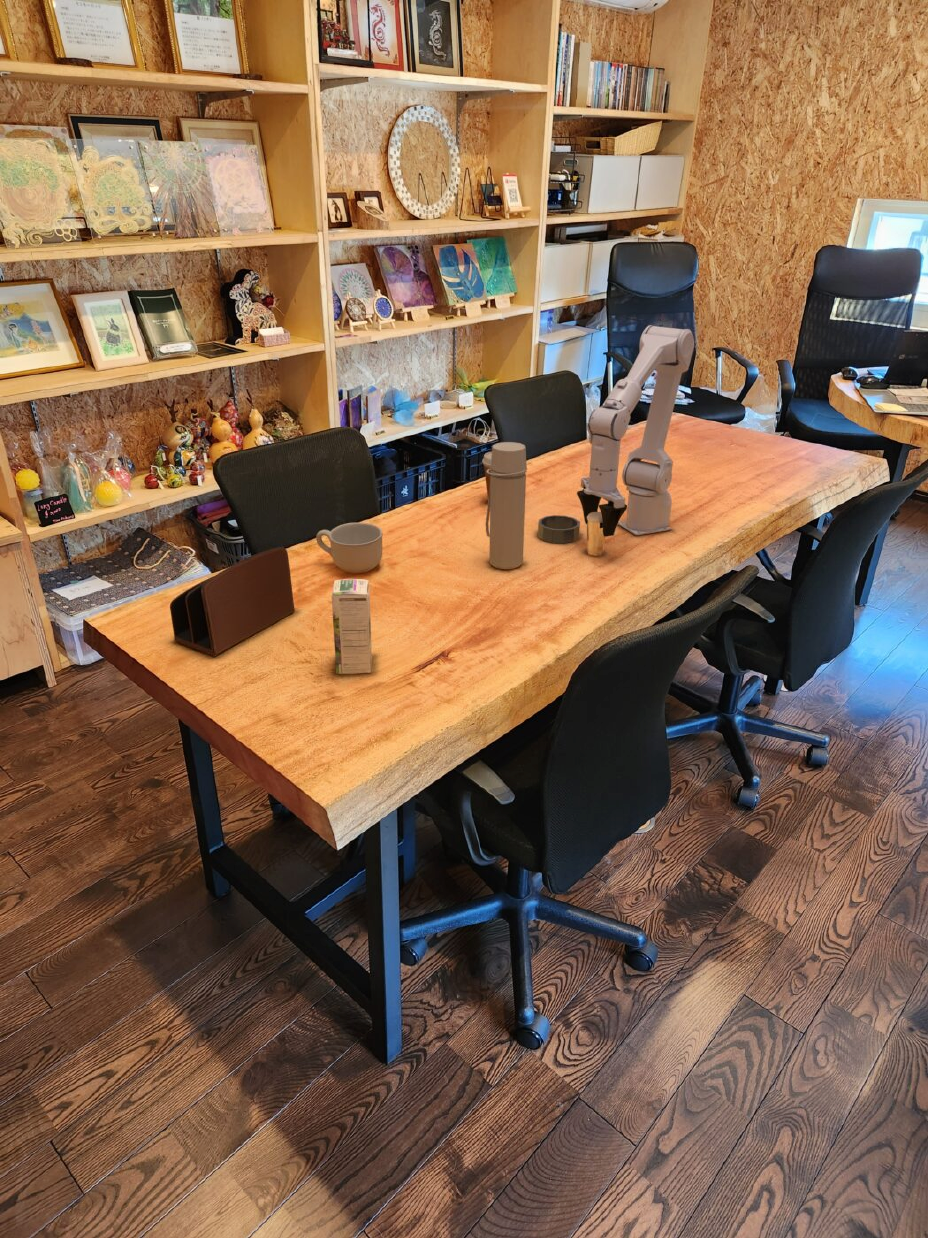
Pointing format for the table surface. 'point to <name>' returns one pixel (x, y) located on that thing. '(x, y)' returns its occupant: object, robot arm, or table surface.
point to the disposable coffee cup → (487, 464)
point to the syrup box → (352, 626)
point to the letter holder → (234, 603)
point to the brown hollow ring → (558, 529)
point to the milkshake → (595, 534)
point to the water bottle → (507, 504)
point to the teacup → (354, 546)
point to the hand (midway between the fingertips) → (599, 529)
